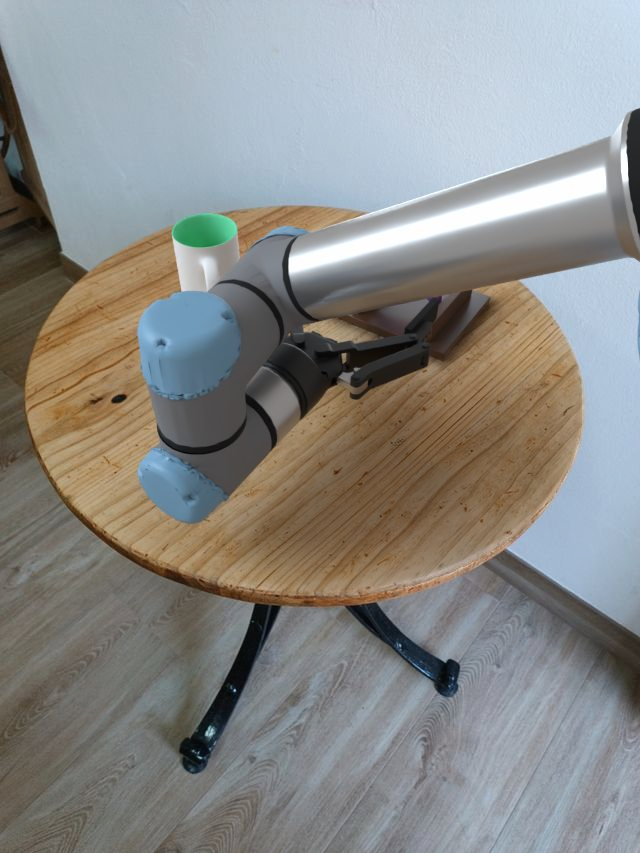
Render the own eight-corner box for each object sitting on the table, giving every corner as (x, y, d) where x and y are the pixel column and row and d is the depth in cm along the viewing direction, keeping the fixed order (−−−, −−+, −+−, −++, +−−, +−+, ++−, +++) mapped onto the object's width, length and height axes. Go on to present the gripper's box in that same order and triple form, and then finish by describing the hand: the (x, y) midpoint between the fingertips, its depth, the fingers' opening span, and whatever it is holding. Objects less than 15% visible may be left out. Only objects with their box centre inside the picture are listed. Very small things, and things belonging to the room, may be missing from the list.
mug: (254, 330, 88) (249, 260, 81) (192, 340, 87) (180, 270, 79) (237, 277, 96) (230, 209, 89) (179, 286, 95) (167, 218, 87)
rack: (489, 303, 92) (495, 277, 89) (442, 361, 84) (447, 334, 81) (385, 266, 98) (387, 240, 95) (332, 316, 90) (333, 289, 87)
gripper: (181, 374, 74) (294, 280, 87) (380, 474, 65) (475, 352, 77) (170, 319, 69) (292, 226, 81) (386, 418, 60) (488, 297, 72)
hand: (382, 287), depth 79 cm, fingers open, 13 cm apart
